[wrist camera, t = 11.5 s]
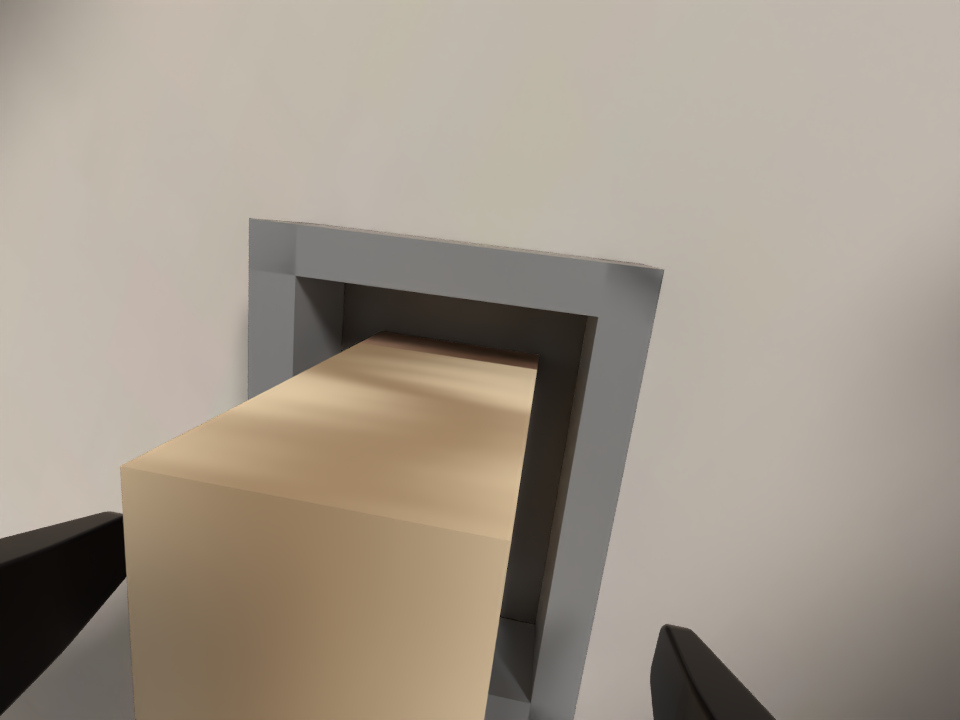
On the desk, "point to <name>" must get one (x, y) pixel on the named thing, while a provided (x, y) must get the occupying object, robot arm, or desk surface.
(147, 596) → the block
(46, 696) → the desk surface
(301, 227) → the collar
